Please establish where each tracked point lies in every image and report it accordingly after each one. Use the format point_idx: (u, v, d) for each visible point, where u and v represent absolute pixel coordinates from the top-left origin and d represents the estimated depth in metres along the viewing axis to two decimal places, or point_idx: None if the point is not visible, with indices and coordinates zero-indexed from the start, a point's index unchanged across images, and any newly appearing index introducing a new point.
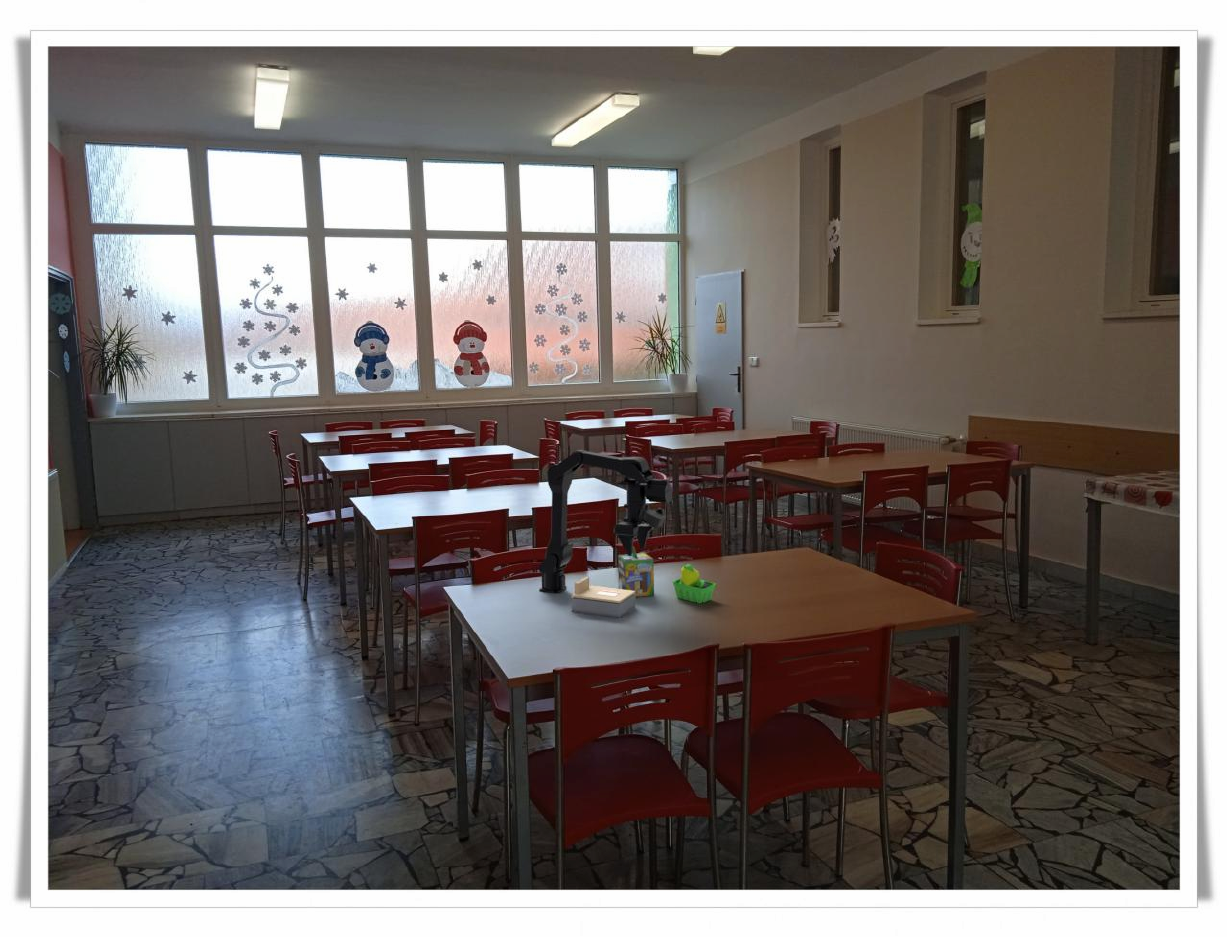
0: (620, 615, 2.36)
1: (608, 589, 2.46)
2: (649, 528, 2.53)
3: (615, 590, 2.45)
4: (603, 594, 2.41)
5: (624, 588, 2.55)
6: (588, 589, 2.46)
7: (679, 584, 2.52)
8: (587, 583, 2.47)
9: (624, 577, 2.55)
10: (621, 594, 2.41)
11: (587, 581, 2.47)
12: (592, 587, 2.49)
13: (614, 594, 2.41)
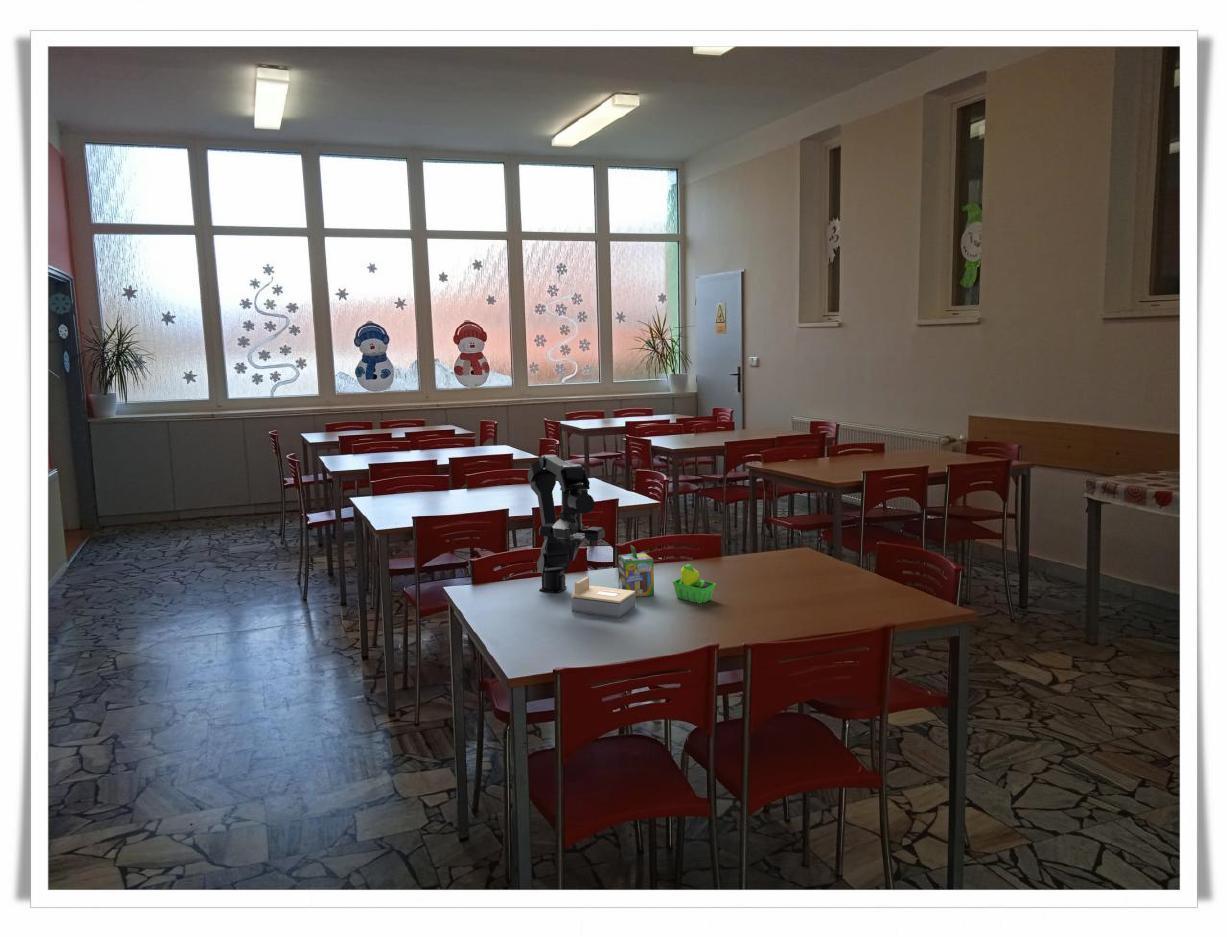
0: (620, 615, 2.36)
1: (608, 589, 2.46)
2: None
3: (615, 590, 2.45)
4: (603, 594, 2.41)
5: (624, 588, 2.55)
6: (588, 589, 2.46)
7: (679, 584, 2.52)
8: (587, 583, 2.47)
9: (624, 577, 2.55)
10: (621, 594, 2.41)
11: (587, 581, 2.47)
12: (592, 587, 2.49)
13: (614, 594, 2.41)
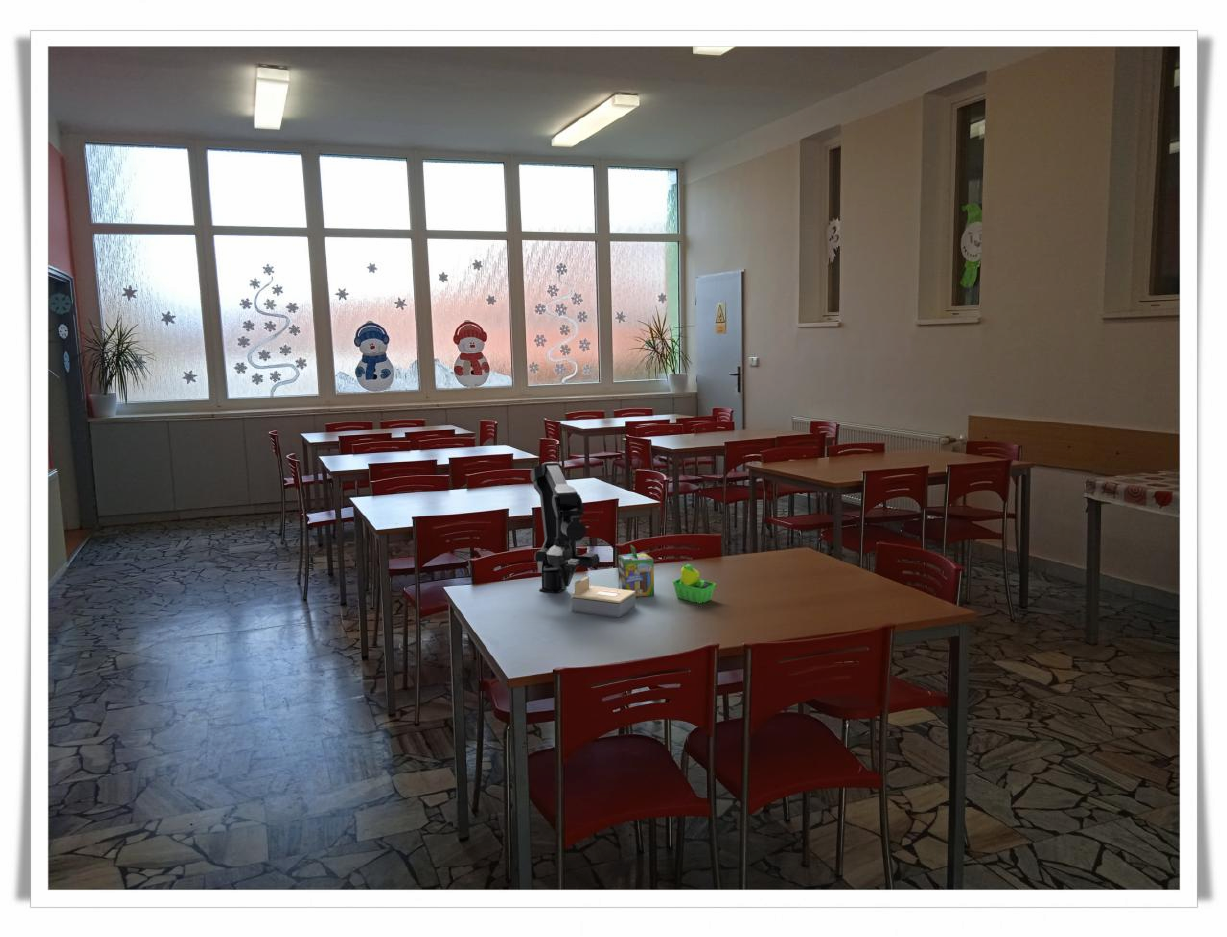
0: (620, 615, 2.36)
1: (608, 589, 2.46)
2: None
3: (615, 590, 2.45)
4: (603, 594, 2.41)
5: (624, 588, 2.55)
6: (588, 589, 2.46)
7: (679, 584, 2.52)
8: (587, 583, 2.47)
9: (624, 577, 2.55)
10: (621, 594, 2.41)
11: (587, 581, 2.47)
12: (592, 587, 2.49)
13: (614, 594, 2.41)
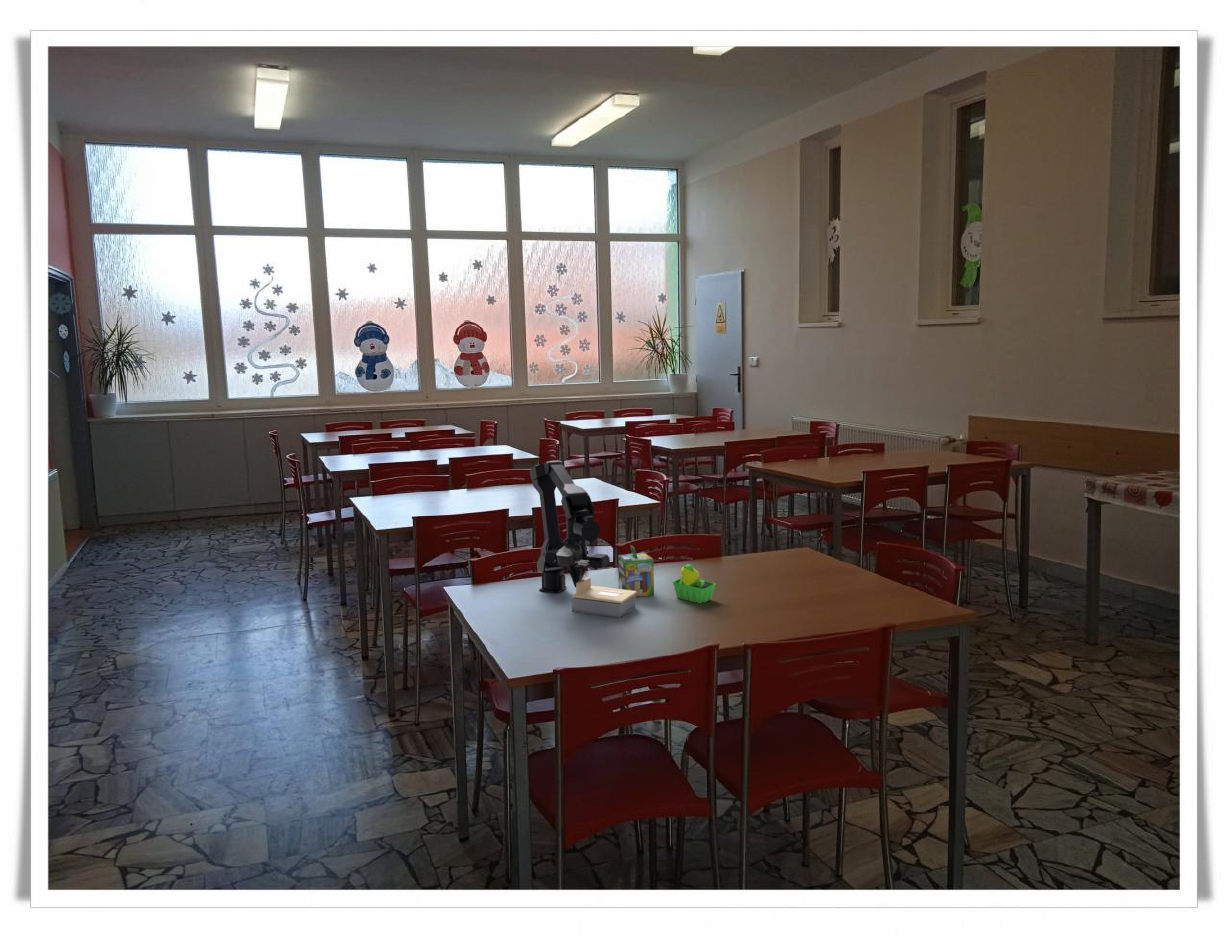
0: (620, 615, 2.36)
1: (610, 589, 2.46)
2: None
3: (617, 590, 2.45)
4: (605, 594, 2.41)
5: (624, 588, 2.55)
6: (590, 589, 2.46)
7: (679, 584, 2.52)
8: (589, 583, 2.47)
9: (624, 577, 2.55)
10: (623, 594, 2.41)
11: (589, 581, 2.47)
12: (593, 587, 2.48)
13: (616, 594, 2.41)
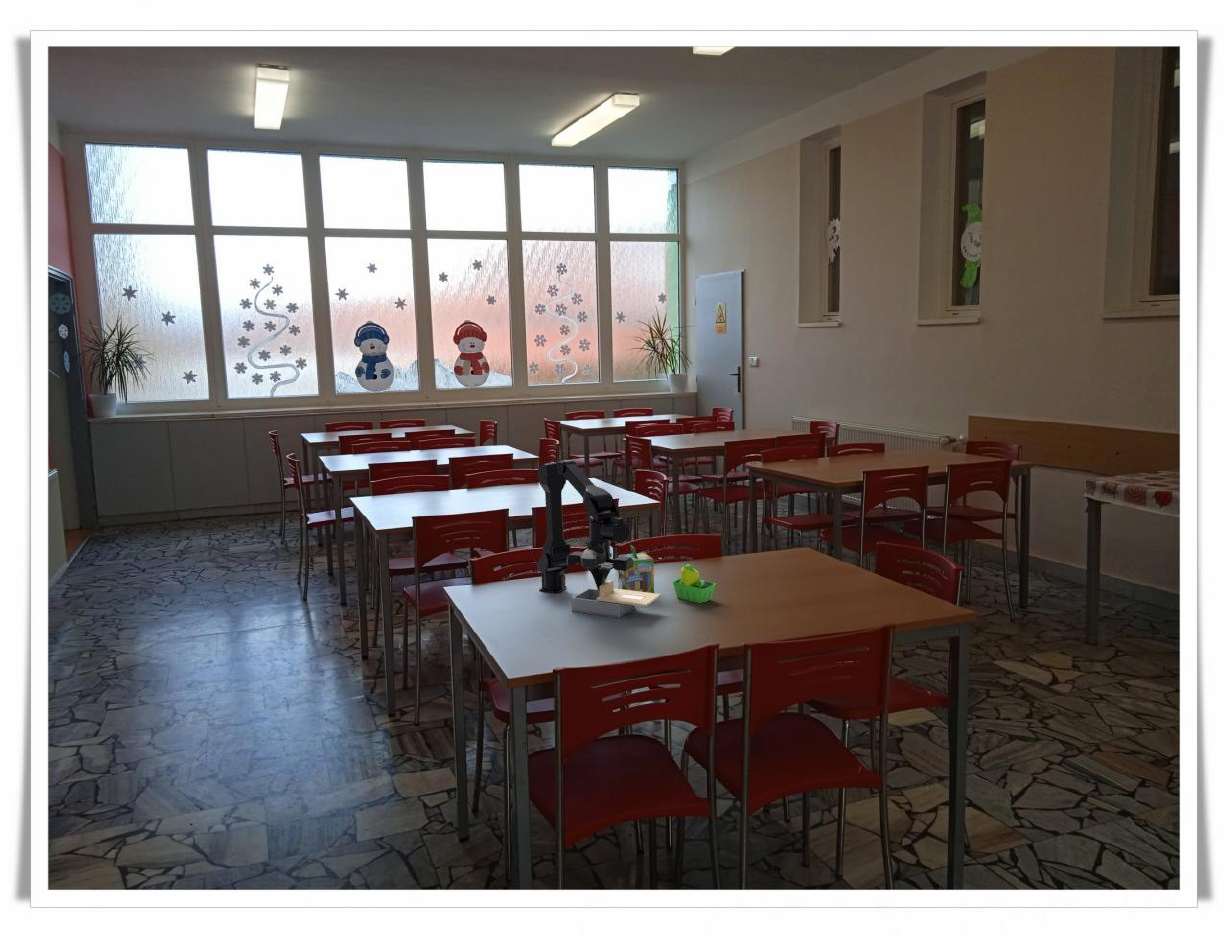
0: (620, 615, 2.36)
1: (633, 592, 2.43)
2: None
3: (640, 593, 2.42)
4: (629, 597, 2.38)
5: (624, 588, 2.55)
6: (613, 592, 2.43)
7: (679, 584, 2.52)
8: (612, 586, 2.44)
9: (624, 577, 2.55)
10: (647, 597, 2.38)
11: (612, 584, 2.44)
12: (617, 590, 2.45)
13: (640, 597, 2.38)
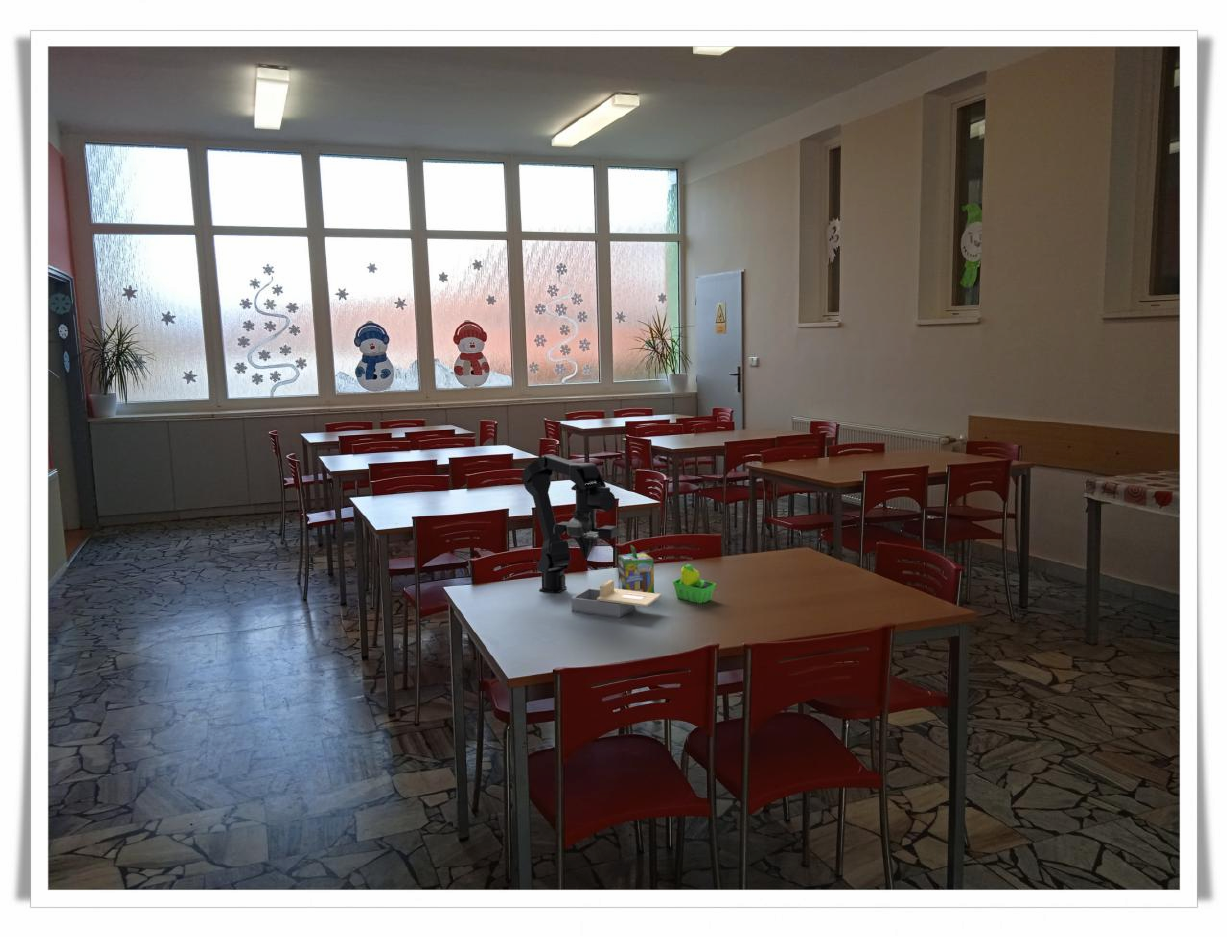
0: (620, 615, 2.36)
1: (633, 592, 2.43)
2: None
3: (640, 593, 2.42)
4: (629, 597, 2.38)
5: (624, 588, 2.55)
6: (613, 592, 2.43)
7: (679, 584, 2.52)
8: (612, 586, 2.44)
9: (624, 577, 2.55)
10: (647, 597, 2.38)
11: (612, 584, 2.44)
12: (617, 590, 2.45)
13: (640, 597, 2.38)
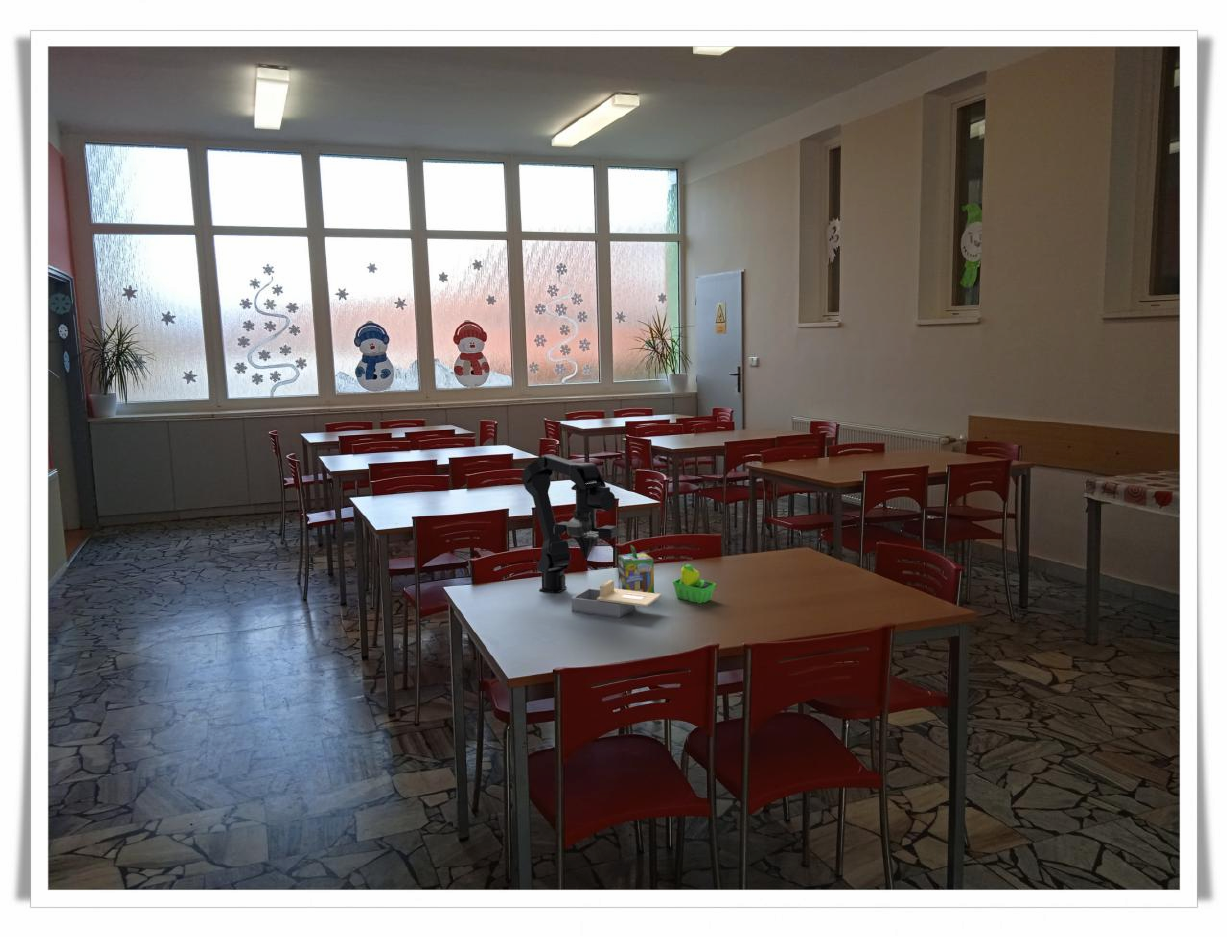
0: (620, 615, 2.36)
1: (633, 592, 2.43)
2: None
3: (640, 593, 2.42)
4: (629, 597, 2.38)
5: (624, 588, 2.55)
6: (613, 592, 2.43)
7: (679, 584, 2.52)
8: (612, 586, 2.44)
9: (624, 577, 2.55)
10: (647, 597, 2.38)
11: (612, 584, 2.44)
12: (617, 590, 2.45)
13: (640, 597, 2.38)
